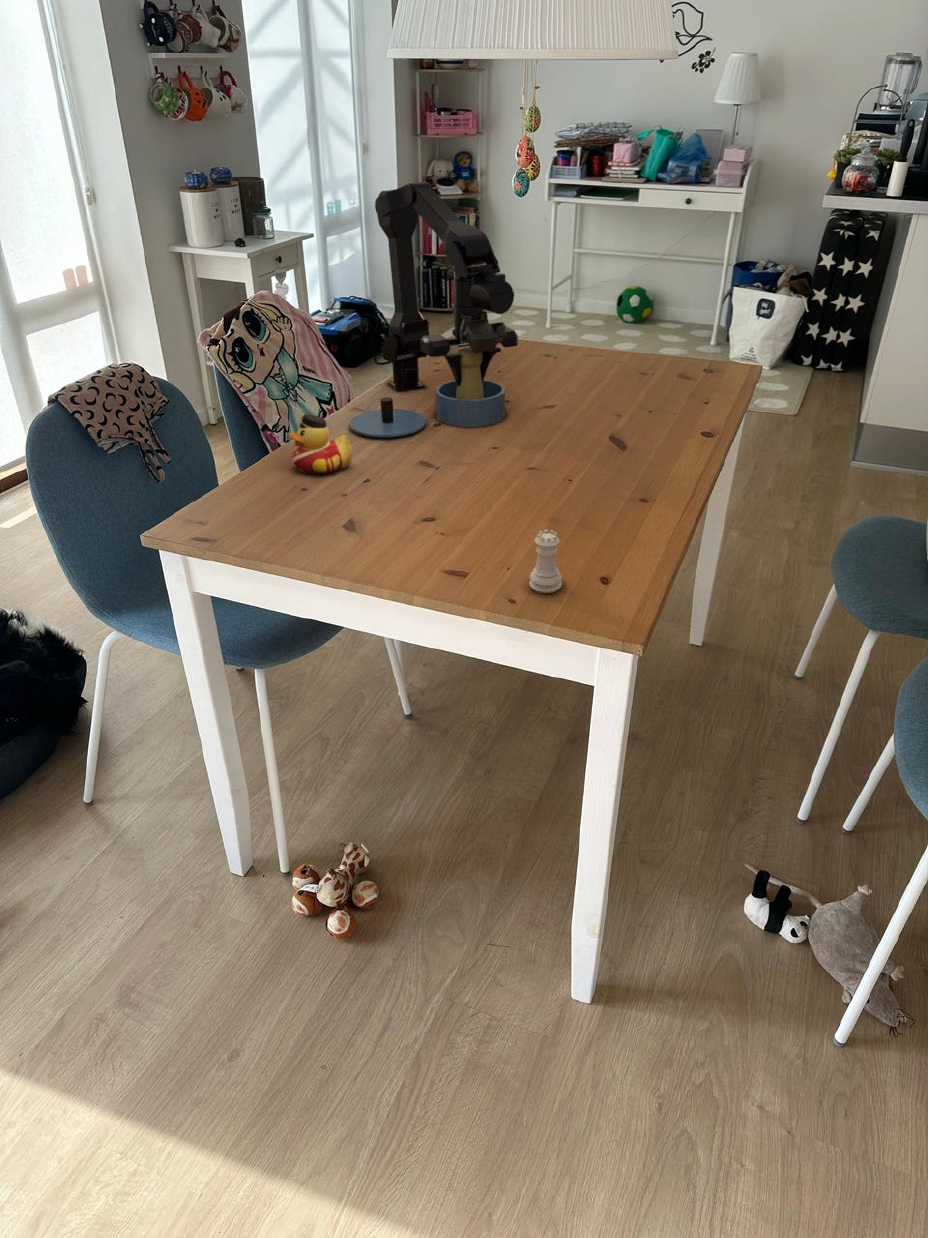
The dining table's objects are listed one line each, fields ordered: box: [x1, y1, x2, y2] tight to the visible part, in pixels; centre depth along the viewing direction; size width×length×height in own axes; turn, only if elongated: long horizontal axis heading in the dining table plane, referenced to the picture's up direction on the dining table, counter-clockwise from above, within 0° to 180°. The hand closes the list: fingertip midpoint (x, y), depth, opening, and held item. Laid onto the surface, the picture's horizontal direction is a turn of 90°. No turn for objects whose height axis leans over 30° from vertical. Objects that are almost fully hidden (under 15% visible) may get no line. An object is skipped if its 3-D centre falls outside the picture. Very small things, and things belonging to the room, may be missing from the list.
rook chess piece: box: [528, 529, 563, 594], centre depth 118 cm, size 4×4×8 cm
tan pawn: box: [456, 346, 484, 400], centre depth 175 cm, size 6×6×11 cm
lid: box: [349, 396, 427, 438], centre depth 173 cm, size 15×15×6 cm
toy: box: [288, 413, 353, 475], centre depth 154 cm, size 9×11×10 cm
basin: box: [434, 379, 506, 428], centre depth 178 cm, size 14×14×5 cm
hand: (469, 384), depth 176 cm, fingers closed on tan pawn, 4 cm apart
